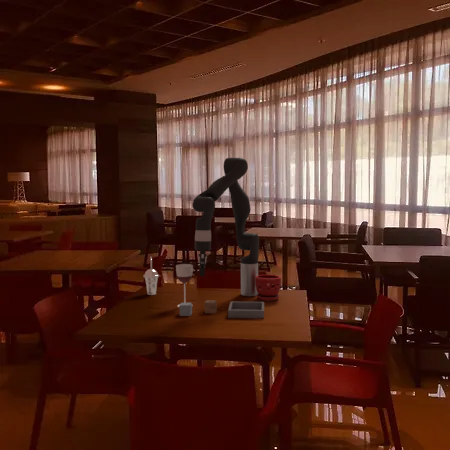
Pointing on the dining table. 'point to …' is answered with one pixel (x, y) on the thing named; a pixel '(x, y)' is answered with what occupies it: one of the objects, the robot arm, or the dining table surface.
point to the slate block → (185, 309)
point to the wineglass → (184, 275)
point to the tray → (246, 310)
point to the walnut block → (210, 306)
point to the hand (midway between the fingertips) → (202, 274)
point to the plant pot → (268, 287)
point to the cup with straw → (151, 280)
